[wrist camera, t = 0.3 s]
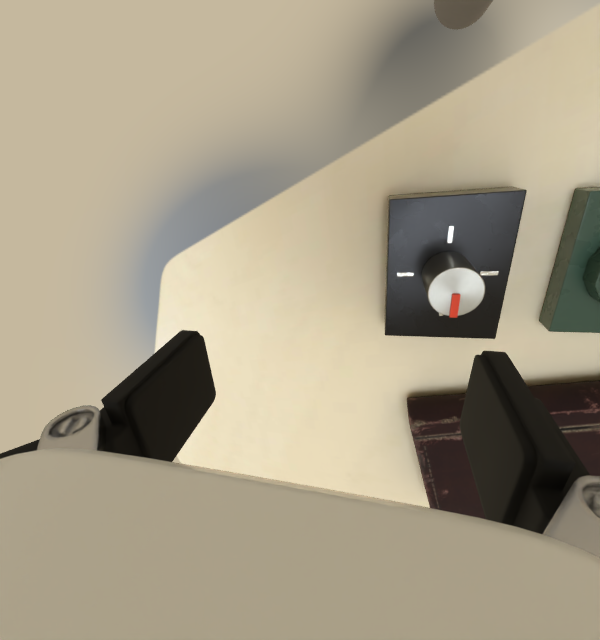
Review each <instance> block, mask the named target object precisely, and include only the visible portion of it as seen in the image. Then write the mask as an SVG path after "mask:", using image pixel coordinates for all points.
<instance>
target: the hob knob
mask: <svg viewBox="0 0 600 640" xmlns="http://www.w3.org/2000/svg"><path fill="white" fill-rule="evenodd" d="M422 281H423V285H424V288H425V291H426V294H427V297H428V300H429V303H430V305H431V306H432V307H433V309H435V310H436V311H437V312H439V313H441V314H443V315H447V316H449V317H450V318H457V317H458V316H459V315H464V314H466V313H469V312H471V311H472V310H474V309H475V308H476V307H477V306H478V305H479V304H480V303H481V301H482V299H483V297H484V294H485V283H484V280H483V279H482V277H481V276H480V274H479V273H478V272H477V271H476V270H475V268H474V267H473V266H472V265H471V263H470V262H469V261H468V260H467V259H466V258H465V257H464V256H463V255H461V254H459V253H457V252H449V251H448V252H442V253H439V254H437V255H435V256H433V257H432V258H430V259H429V260H428V261H427V263H426V264H425V266H424V268H423V270H422Z"/></svg>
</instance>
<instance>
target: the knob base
mask: <svg viewBox="0 0 600 640" xmlns="http://www.w3.org/2000/svg"><path fill="white" fill-rule="evenodd" d="M525 196H526V190H524V189H520V188H516V187H499V188H486V189H472V190H458V191H444V192H431V193H417V194H403V195H390V196H389V202H388V234H387V267H386V299H385V335H394V336H426V337H458V338H489V339H495V337H496V333H497V328H498V323H499V318H500V314H501V309H502V304H503V300H504V295H505V290H506V285H507V281H508V276H509V271H510V267H511V262H512V257H513V252H514V248H515V243H516V238H517V233H518V229H519V224H520V219H521V215H522V210H523V205H524V200H525ZM448 251H449V252H457V253H459V254H461V255H463V256H464V257H465V258H466V259H467V260H468V261H469V262H470V263H471V265H472V266H473V267H474V268H475V270H476V271H477V272H478V273H479V274H480V276H481V277H482V279H483V280H484V283H485V294H484V297H483V299H482V301H481V303H480V304H479V305H478V306H477V307H476V308H475V309H474V310H472V311H471V312H469V313H466V314H464V315H459V316H458V317H457V318H450V317H449V316H447V315H443V314H441V313H439V312H437V311H436V310H435V309H433V307H432V306H431V305H430V303H429V300H428V297H427V294H426V291H425V288H424V285H423V281H422V270H423V268H424V266H425V264H426V263H427V261H428V260H429V259H430V258H432V257H433V256H435V255H437V254H439V253H442V252H448Z"/></svg>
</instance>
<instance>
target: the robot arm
mask: <svg viewBox="0 0 600 640" xmlns="http://www.w3.org/2000/svg"><path fill="white" fill-rule="evenodd" d="M215 396H216V391H215V387H214V382H213V378H212V373H211V369H210V364H209V360H208V355H207V351H206V346H205V342H204V338H203V336H201V335H200V334H199V333H198V332H197V331H186V330H182V331H180V332H179V333H178V334H177V335H176V336H174V337H173V338H172V339H171V340H170V341H169V342H167V343H166V344H165V345H164V346H163V347H162V348H161V349H159V350H158V351H157V352H156V353H155V354H154V355H153V356H151V357H150V358H149V359H148V360H147V361H146V362H145V363H143V364H142V365H141V366H140V367H139V368H138V369H136V370H135V371H134V372H133V373H132V374H131V375H130V376H128V377H127V378H126V379H125V380H124V381H122V382H121V383H120V384H119V385H118V386H117V387H115V388H114V389H113V390H112V391H111V392H110V393H108V394H107V395H106V396H105V397H104V398H103V399H102V403H103V404H104V408H102V409H101V410H100V411H99V409H98V408H96V407H94V406H80V407H76V408H73V409H70V410H67V411H65V412H63V413H62V414H60V415H58V416H57V417H55V418H54V419H52V420H51V421H50V422H49V423H48V424H47V425H46V426H45V428H44V430H43V432H42V434H41V438H40V439H39V440H36V441H34V442H31V443H28V444H26V445H23V446H20V447H18V448H15V449H12V450H9V451H7V452H4V453H1V454H0V640H600V476H591V475H590V474H589V472H588V471H587V469H586V468H585V466H584V465H583V463H582V462H581V460H580V459H579V457H578V456H577V454H576V453H575V451H574V449H573V448H572V446H571V445H570V443H569V442H568V440H567V439H566V437H565V436H564V434H563V433H562V431H561V430H560V428H559V427H558V425H557V424H556V422H555V421H554V419H553V417H552V416H551V414H550V413H549V411H548V410H547V408H546V407H545V405H544V404H543V403H542V401H541V400H539V399H537V398H535V397H534V396H533V394H532V393H531V391H530V390H529V388H528V386H527V385H526V383H525V382H524V380H523V379H522V377H521V375H520V374H519V372H518V371H517V369H516V368H515V366H514V364H513V363H512V361H511V360H510V358H509V357H508V355H507V354H506V353H505V352H494V351H483V352H482V354H481V355H476V356H475V358H474V362H473V366H472V371H471V375H470V379H469V384H468V388H467V392H466V397H465V401H464V405H463V410H462V414H461V418H460V431H461V435H462V438H463V442H464V445H465V449H466V452H467V456H468V459H469V463H470V466H471V470H472V473H473V477H474V480H475V484H476V487H477V491H478V494H479V498H480V501H481V505H482V508H483V511H484V515H485V518H486V519H482V518H477V517H472V516H467V515H462V514H457V513H452V512H447V511H442V510H437V509H432V508H427V507H422V506H417V505H412V504H406V503H401V502H395V501H390V500H384V499H379V498H373V497H368V496H362V495H357V494H351V493H346V492H340V491H335V490H329V489H324V488H318V487H312V486H307V485H301V484H295V483H290V482H284V481H278V480H273V479H267V478H261V477H256V476H250V475H244V474H239V473H233V472H227V471H221V470H216V469H210V468H204V467H198V466H192V465H186V464H180V463H174V462H172V461H173V460H174V458H175V457H176V455H177V454H178V452H179V451H180V450H181V448H182V447H183V445H184V444H185V442H186V441H187V439H188V438H189V437H190V435H191V434H192V432H193V431H194V429H195V428H196V426H197V425H198V423H199V422H200V421H201V419H202V418H203V416H204V415H205V413H206V412H207V410H208V409H209V407H210V406H211V405H212V403H213V402H214V400H215Z"/></svg>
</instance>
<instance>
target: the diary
mask: <svg viewBox="0 0 600 640" xmlns="http://www.w3.org/2000/svg"><path fill="white" fill-rule="evenodd" d="M528 388H529V390H530V391H531V393H532V394H533V396H534V397H535V398H537V399H539V400H541V401H542V403H543V404H544V405H545V407H546V408H547V410H548V411H549V413H550V414H551V416H552V417H553V419H554V421H555V422H556V424H557V425H558V427H559V428H560V430H561V431H562V433H563V434H564V436H565V437H566V439H567V440H568V442H569V443H570V445H571V446H572V448H573V449H574V451H575V453H576V454H577V456H578V457H579V459H580V460H581V462H582V463H583V465H584V466H585V468H586V469H587V471H588V472H589V474H590V475H591V476H600V381H592V382H579V383H566V384H553V385H540V386H528ZM465 397H466V394H457V395H443V396H428V397H414V398H407V407H408V416H409V424H410V428H411V432H412V436H413V440H414V444H415V448H416V452H417V456H418V460H419V465H420V469H421V473H422V477H423V481H424V485H425V489H426V493H427V497H428V501H429V505H430V508H432V509H437V510H442V511H447V512H452V513H457V514H462V515H467V516H472V517H477V518H482V519H486V518H485V515H484V511H483V508H482V505H481V501H480V498H479V494H478V491H477V487H476V484H475V480H474V477H473V473H472V470H471V466H470V463H469V459H468V456H467V452H466V449H465V445H464V442H463V438H462V435H461V431H460V418H461V414H462V410H463V405H464V401H465Z"/></svg>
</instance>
